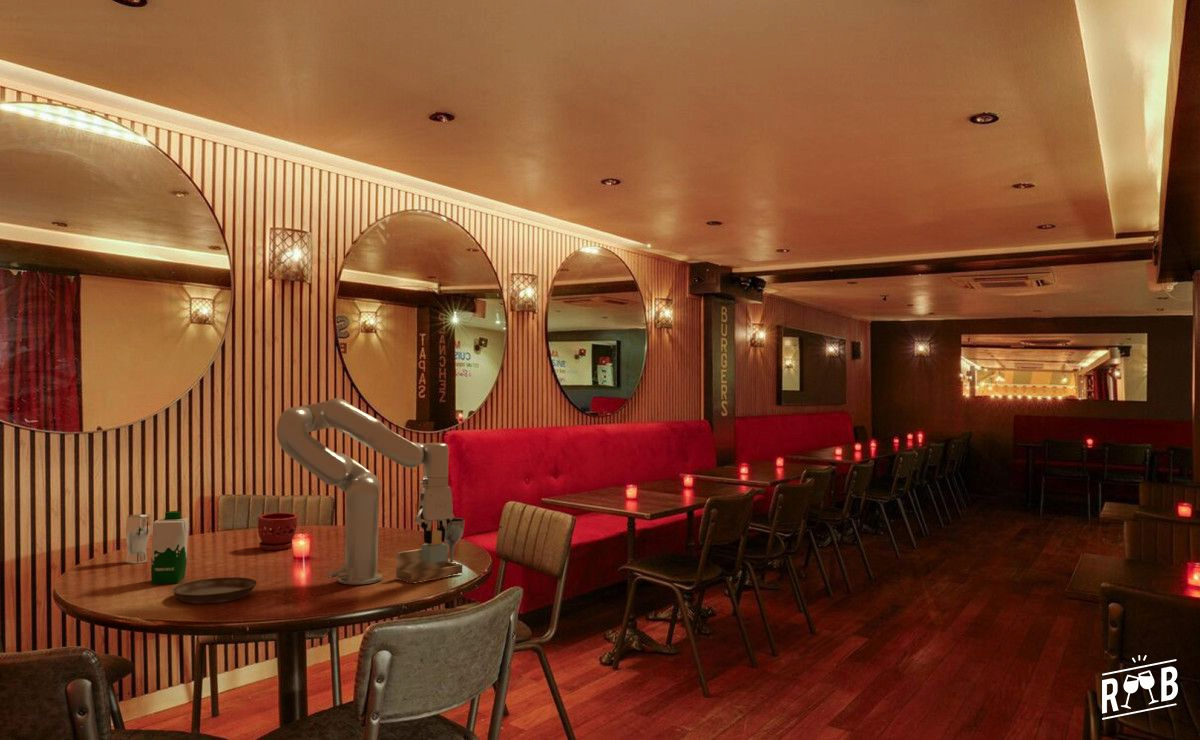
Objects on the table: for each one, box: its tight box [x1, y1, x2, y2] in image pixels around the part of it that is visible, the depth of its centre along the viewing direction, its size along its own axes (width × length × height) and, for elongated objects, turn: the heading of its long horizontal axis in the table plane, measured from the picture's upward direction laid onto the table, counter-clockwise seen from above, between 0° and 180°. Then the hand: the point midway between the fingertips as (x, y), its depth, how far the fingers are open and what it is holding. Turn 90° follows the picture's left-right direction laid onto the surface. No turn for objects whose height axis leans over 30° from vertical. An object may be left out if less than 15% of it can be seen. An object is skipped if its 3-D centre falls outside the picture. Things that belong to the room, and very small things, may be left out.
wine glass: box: [444, 517, 465, 562], centre depth 250 cm, size 8×8×15 cm
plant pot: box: [257, 512, 298, 551], centre depth 272 cm, size 13×13×12 cm
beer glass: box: [125, 513, 152, 565], centre depth 246 cm, size 7×7×15 cm
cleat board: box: [395, 544, 463, 584], centre depth 233 cm, size 18×9×8 cm, turn 136°
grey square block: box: [420, 529, 448, 563], centre depth 232 cm, size 6×5×9 cm
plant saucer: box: [171, 576, 258, 605], centre depth 206 cm, size 21×21×3 cm
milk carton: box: [150, 510, 189, 585], centre depth 221 cm, size 9×9×20 cm
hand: (434, 541), depth 232 cm, fingers closed on grey square block, 4 cm apart
